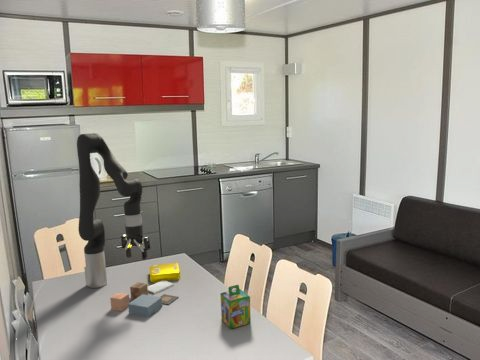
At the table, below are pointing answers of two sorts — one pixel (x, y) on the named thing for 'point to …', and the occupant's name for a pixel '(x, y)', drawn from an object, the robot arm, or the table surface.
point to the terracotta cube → (119, 301)
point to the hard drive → (159, 287)
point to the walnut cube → (138, 290)
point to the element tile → (164, 272)
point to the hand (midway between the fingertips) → (136, 258)
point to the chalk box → (235, 307)
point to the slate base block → (145, 305)
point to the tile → (168, 299)
